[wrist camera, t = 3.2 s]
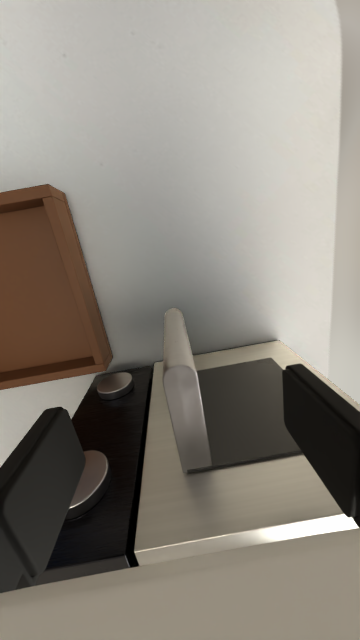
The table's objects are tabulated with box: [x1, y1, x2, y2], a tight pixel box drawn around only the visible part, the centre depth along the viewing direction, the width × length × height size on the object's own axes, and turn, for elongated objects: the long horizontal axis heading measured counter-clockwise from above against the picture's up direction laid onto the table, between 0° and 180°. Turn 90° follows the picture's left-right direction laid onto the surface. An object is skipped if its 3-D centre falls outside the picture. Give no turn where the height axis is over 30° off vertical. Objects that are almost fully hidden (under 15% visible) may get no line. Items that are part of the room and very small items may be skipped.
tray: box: [0, 184, 113, 390], centre depth 20 cm, size 16×14×3 cm
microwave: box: [35, 366, 153, 586], centre depth 20 cm, size 22×20×16 cm
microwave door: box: [134, 308, 360, 566], centre depth 16 cm, size 8×14×16 cm, turn 100°
